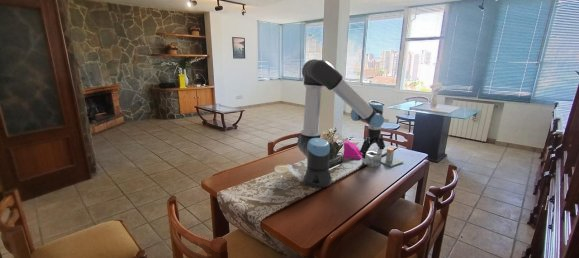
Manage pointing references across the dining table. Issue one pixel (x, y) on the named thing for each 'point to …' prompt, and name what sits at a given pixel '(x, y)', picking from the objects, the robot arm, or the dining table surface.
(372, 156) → the white hollow square block
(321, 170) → the robot arm
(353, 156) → the magenta faceted rock
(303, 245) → the dining table surface
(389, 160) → the keeper
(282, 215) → the dining table surface
